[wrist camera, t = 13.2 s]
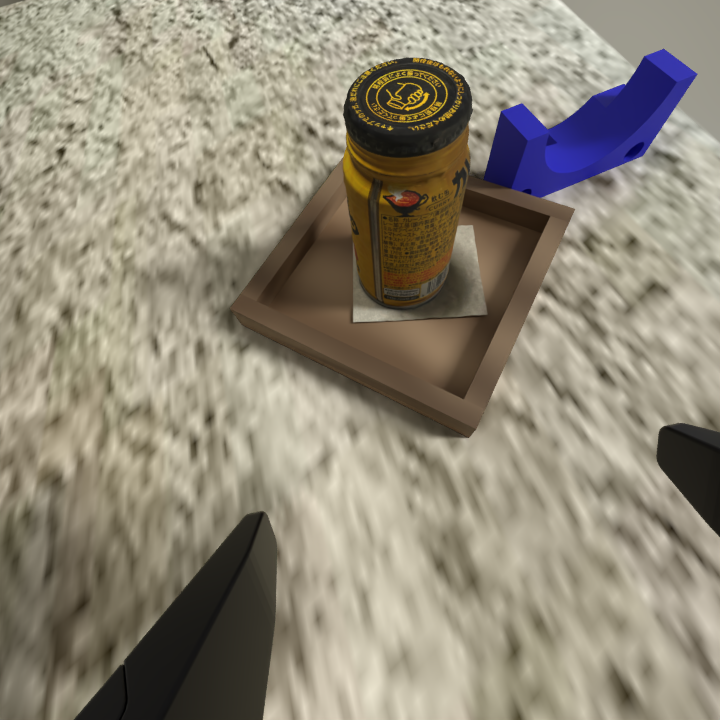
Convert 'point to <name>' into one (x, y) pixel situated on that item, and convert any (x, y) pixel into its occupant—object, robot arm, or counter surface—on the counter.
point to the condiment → (410, 193)
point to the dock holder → (407, 337)
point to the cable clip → (588, 131)
